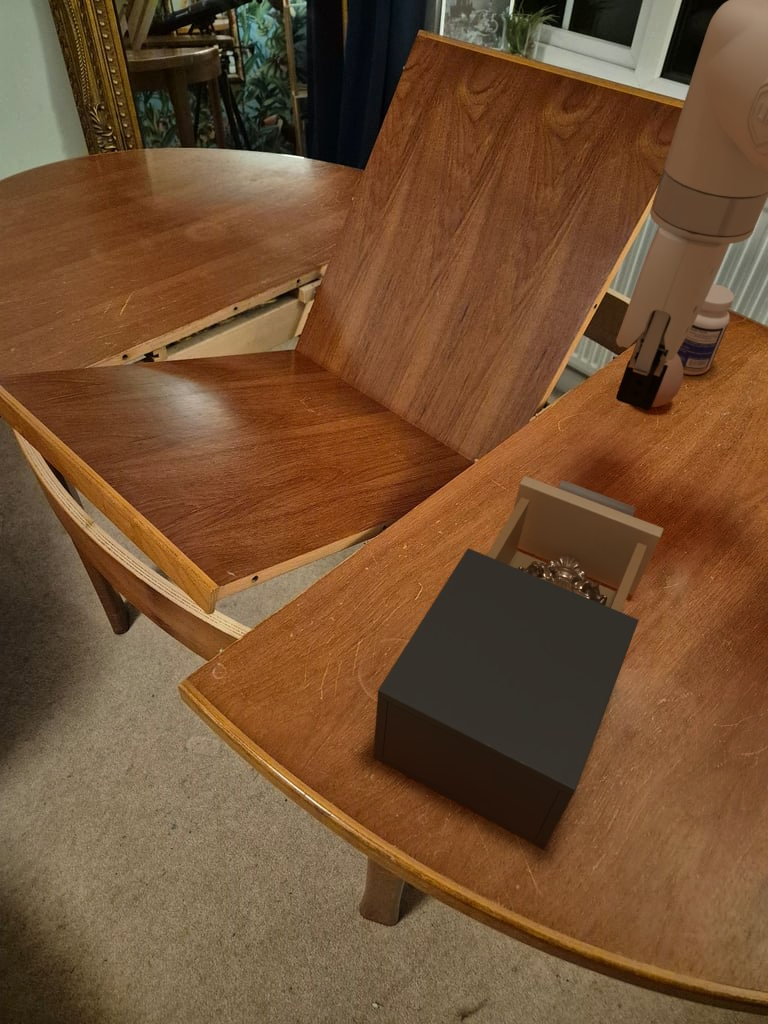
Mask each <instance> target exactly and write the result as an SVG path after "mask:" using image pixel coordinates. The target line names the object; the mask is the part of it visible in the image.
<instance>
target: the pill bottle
mask: <svg viewBox="0 0 768 1024" xmlns="http://www.w3.org/2000/svg"><path fill="white" fill-rule="evenodd" d="M734 300H735V295H734V293H733V291H731V290H730V289H729V288H727V287H725V286H723V285H720V284H715V283H713V284H712V287H711V289H710V291H709V293H708V295H707V298H706V300H705V302H704V304H703V306H702V308H701V310H700V312H699V314H698V316H697V318H696V320H695V322H694V323H693V325H692V327H691V329H690V331H689V333H688V334H687V336H686V338H685V340H684V341H683V343H682V345H681V347H680V348H679V350H678V352H677V354H678V356H679V357H680V359H681V362H682V365H683V375H688V376H689V375H690V376H696V375H697V376H698V375H702V374H705V373H706V372H707V371H708V370H709V369H710V368H711V366H712V365H713V362H714V360H715V358H716V355H717V352H718V350H719V347H720V345H721V342H722V340H723V339H724V336H725V333H726V330H727V328H728V326H729V324H730V323H729V322H730V319H731V317H730V312H729V311H728V310H730V309H731V308H732V305H733V303H734Z"/></svg>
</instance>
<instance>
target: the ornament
mask: <svg viewBox="0 0 768 1024" xmlns="http://www.w3.org/2000/svg"><path fill="white" fill-rule="evenodd" d="M579 567H580V562H579V561H578V560H577V559H576V558H575V557H574V556H570V555H564V556H560V557H559V559H558V561H556V560H546V564H545V565H544V563H540V564H537V562H536V561H533V562H532V563H531V564H530V565H529V566H528V567H527V568H526V569H525V568H524V567H523V566H522V567H518V569H519V570H522V571H524V572H526V573H529V574H531V575H533V576H536V577H538V578H541V579H543V580H545V581H548V582H550V583H552V584H555V585H557V586H560V587H562V588H564V589H567V590H569V591H571V592H574V593H576V594H579V595H581V596H583V597H586V598H588V599H590V600H593V601H595V602H598V603H600V604H602V605H606V601H607V596H606V595H601V594H600V590H599V585H600V582H599V581H594V583H592V582H593V581H592V578H588V577H587V573H586V572H585V571H584V570H583V569H580V568H579Z"/></svg>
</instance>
